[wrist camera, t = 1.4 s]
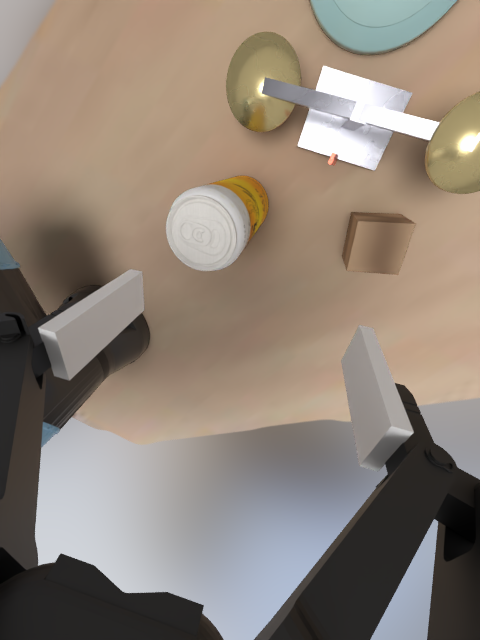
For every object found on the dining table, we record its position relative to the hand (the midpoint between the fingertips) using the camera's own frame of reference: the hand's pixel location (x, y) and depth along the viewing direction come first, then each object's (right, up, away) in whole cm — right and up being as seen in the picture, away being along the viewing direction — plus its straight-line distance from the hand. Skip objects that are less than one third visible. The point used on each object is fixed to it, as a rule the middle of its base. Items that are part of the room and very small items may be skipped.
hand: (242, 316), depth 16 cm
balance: (+10, +19, +9) cm, 23 cm away
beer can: (0, +14, +15) cm, 21 cm away
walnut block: (+15, +9, +14) cm, 22 cm away
